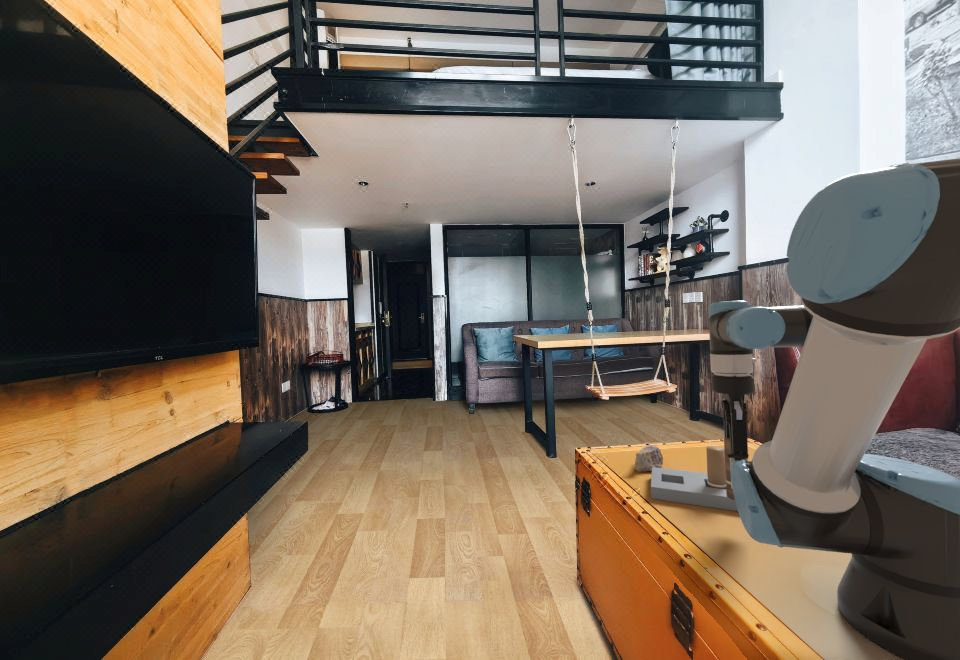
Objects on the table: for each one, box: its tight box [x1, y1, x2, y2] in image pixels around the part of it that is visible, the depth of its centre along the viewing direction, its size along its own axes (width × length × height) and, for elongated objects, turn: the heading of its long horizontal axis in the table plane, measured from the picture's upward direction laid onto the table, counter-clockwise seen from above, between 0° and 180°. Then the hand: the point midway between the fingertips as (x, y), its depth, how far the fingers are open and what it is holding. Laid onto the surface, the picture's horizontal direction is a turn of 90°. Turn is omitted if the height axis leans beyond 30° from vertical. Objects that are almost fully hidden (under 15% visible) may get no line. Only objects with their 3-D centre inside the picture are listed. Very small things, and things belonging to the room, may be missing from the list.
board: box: [650, 445, 738, 512], centre depth 96 cm, size 14×20×12 cm
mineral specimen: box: [634, 444, 664, 473], centre depth 114 cm, size 13×7×6 cm, turn 144°
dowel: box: [723, 437, 749, 500], centre depth 79 cm, size 4×4×12 cm
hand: (737, 484), depth 79 cm, fingers closed on dowel, 4 cm apart
